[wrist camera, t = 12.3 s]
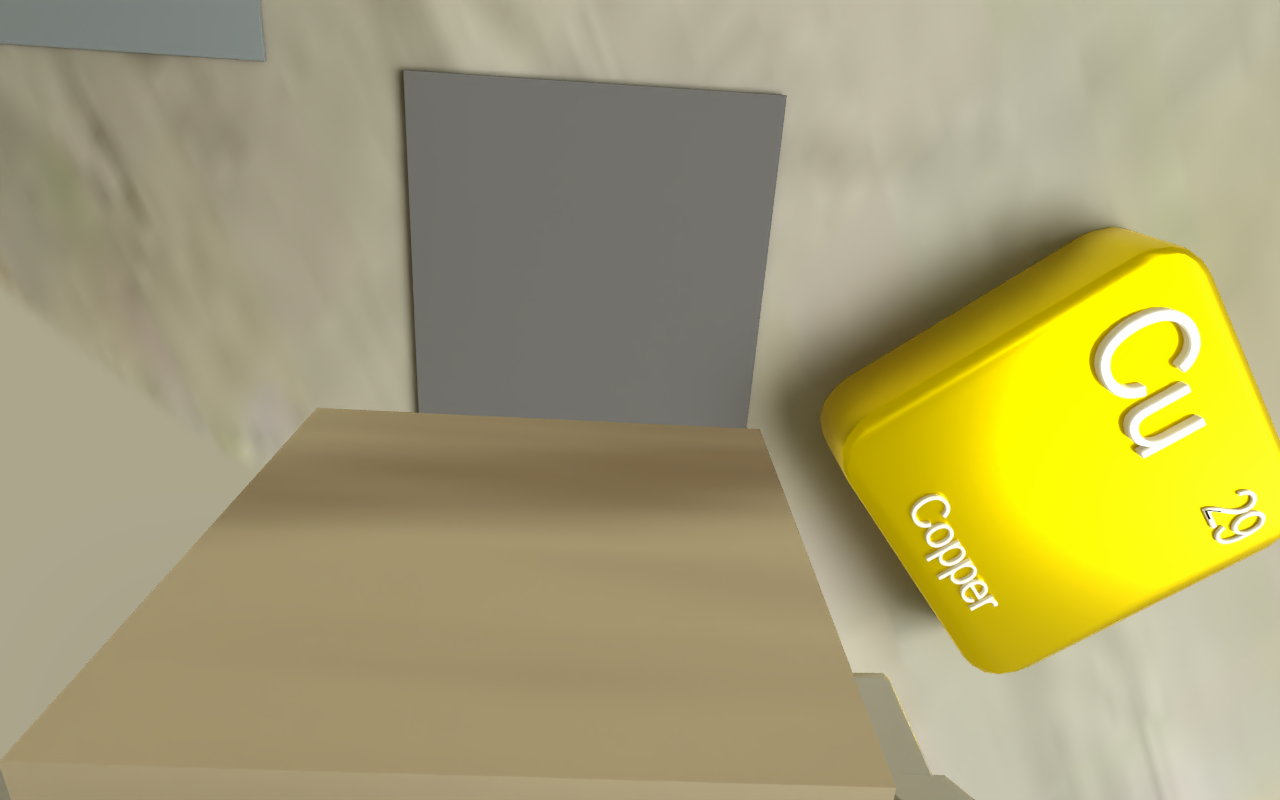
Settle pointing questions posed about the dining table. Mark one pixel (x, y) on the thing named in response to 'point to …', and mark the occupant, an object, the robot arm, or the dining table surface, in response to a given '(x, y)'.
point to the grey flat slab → (138, 26)
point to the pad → (588, 247)
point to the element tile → (1064, 448)
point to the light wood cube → (476, 631)
